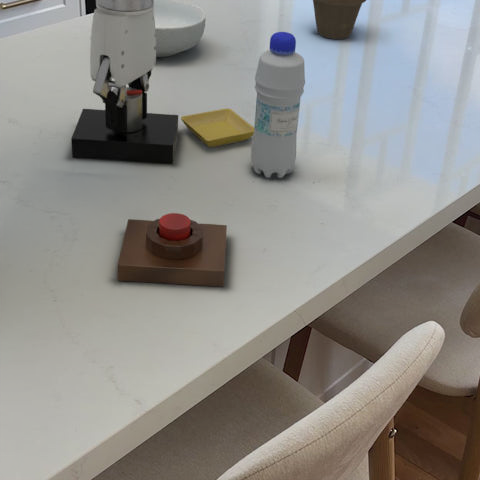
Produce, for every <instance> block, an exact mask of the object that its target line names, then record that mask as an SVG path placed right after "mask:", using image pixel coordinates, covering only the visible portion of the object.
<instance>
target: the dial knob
mask: <svg viewBox="0 0 480 480" xmlns="http://www.w3.org/2000/svg"><path fill="white" fill-rule="evenodd" d="M111 91H113V92H114V93H115V94H116V95H117V92H118V88H114V89H111ZM124 105H126V106H127V131H126V132H135V131H138V130H140V129H141V128H142V90H138V89H135V88H130V87H129V86H126V90H125V99H124Z"/></svg>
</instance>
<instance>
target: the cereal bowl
mask: <svg viewBox="0 0 480 480" xmlns="http://www.w3.org/2000/svg"><path fill="white" fill-rule="evenodd" d="M153 9H154V18H155V30H156V58H165V57H167V58H168V57H172V56H175V55H178V54H179V53H182V52H185V51H187V50H189V49H192V48H193V47H195V46H196V45H197V44H198V43H199V42H200V41H201V39H202V37H203V35H204V32H205V28H206V21H207V20H206V19H207V18H206V15H207V14H206V12H205V11H204V10H203V9H202V8H201V7H199V6H197V5H196V4H193V3H190V2H187V1H184V0H154V8H153Z"/></svg>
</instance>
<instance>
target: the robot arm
mask: <svg viewBox="0 0 480 480" xmlns="http://www.w3.org/2000/svg"><path fill="white" fill-rule="evenodd" d="M95 6H96V8H94V11H93V16H92V23H91V31H90V53H89V54H90V55H89V57H90V58H89V65H90V70H89V71H90V78H91V81H93V82H94V85H93V87H92V93H93V94H95V95H97V96H98V97H99V98H100V99H101V100H102V101H101V102H102V103H103V104H104V105H105V106H104V110H105V118H106V127H107V128H108V129H111V130H115V131H118V132H121V133H125V132H126V131H127V106H126V105H124V99H125V90H126V87H130V88H135V89H138V90H142V119H143V120H144V119H146V118H147V113H148V93H147V92H148V91H149V89H150V82H149V81H150V78H151V76H152V71H153V69H154V68H155V65H156V63H157V57H156V30H155V18H154V9H153V8H154V0H95ZM112 79H114V80H112ZM113 88H114V89H116V88H118V92H117V95H116V94H115V93H114V92H113V91H112V90H113Z"/></svg>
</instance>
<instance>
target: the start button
mask: <svg viewBox="0 0 480 480" xmlns="http://www.w3.org/2000/svg"><path fill="white" fill-rule="evenodd" d="M159 219H160V220H159V235H160V237H161V238H164V239H166V240H170V241H180V240H185V239H188V238H189V236H190V227H191V221H190V220H191V219H190V217H189V216H188V215H186V214H183V213H178V212H176V213H175V212H172V213H171V212H170V213H166V214H164V215H161V216H160V218H159Z"/></svg>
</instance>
